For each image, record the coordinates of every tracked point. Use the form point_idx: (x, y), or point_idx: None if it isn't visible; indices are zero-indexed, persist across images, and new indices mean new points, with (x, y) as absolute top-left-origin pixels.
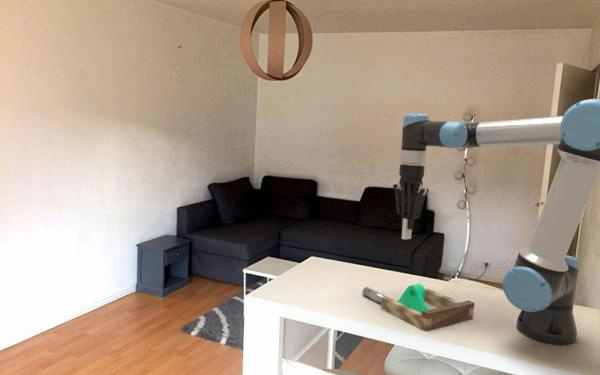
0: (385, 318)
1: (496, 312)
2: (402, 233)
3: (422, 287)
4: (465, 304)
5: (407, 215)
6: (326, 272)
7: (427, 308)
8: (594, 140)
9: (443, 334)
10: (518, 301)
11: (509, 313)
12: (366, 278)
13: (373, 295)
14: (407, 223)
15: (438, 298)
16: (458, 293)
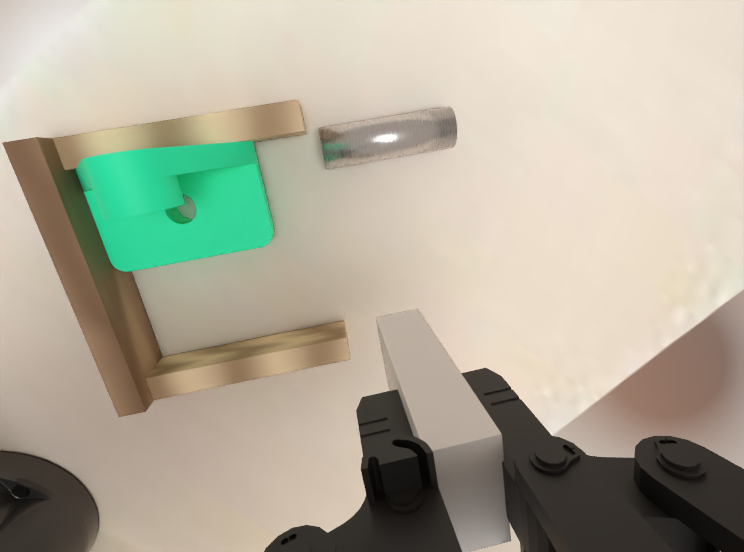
0: (201, 59)
1: (187, 484)
2: (425, 330)
3: (104, 209)
4: (102, 373)
5: (439, 514)
6: (730, 112)
7: (183, 246)
8: None
9: (22, 195)
10: None
11: (173, 515)
12: (602, 243)
13: (383, 118)
14: (411, 426)
15: (268, 349)
16: None
